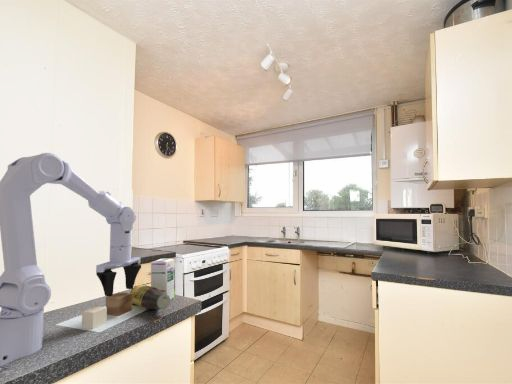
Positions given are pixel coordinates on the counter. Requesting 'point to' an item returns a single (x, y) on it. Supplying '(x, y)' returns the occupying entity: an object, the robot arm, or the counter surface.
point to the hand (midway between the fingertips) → (119, 292)
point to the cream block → (94, 317)
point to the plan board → (111, 322)
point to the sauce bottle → (149, 297)
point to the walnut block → (119, 303)
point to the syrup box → (164, 276)
